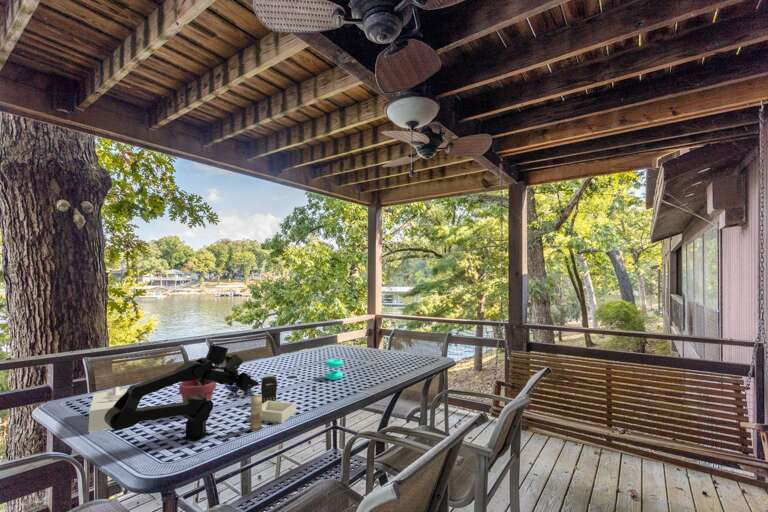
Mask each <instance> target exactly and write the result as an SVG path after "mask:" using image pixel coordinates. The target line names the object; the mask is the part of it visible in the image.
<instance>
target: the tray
mask: <svg viewBox="0 0 768 512" xmlns="http://www.w3.org/2000/svg"><path fill="white" fill-rule="evenodd" d="M296 413H297V403H296V402H288V401H277V400H276V401H266V402H264V403H262V422H267V421H270V423H275V422H278V423H277V424H282V423H284V422H285V421H287V420H288V419H290V418H291V417H292V416H294V415H295V414H296Z"/></svg>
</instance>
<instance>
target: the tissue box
mask: <svg viewBox="0 0 768 512" xmlns="http://www.w3.org/2000/svg"><path fill="white" fill-rule="evenodd" d="M127 390H128V388H124V389H121V388H120V386H115V387H113V388H112V390H111V391H110V390H108V391H104V392H97V393H96V392H95V393H93V395H92V396H93V397H92V400H91V403H90V407H89V412H88V432H89V431H98V430H104V429H111V427H110V426H109V425H108V424H107V423H105V420H104V417H105V414H106V413H107V411H108V410H109V409H110V408H112V407H113V406H114V405H115V403H116V402H117V401H118V400H119V399H120V398H121V397H122V396H123V395H124V394H125V392H126V391H127Z"/></svg>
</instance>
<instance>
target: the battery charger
mask: <svg viewBox="0 0 768 512" xmlns="http://www.w3.org/2000/svg"><path fill="white" fill-rule="evenodd" d="M260 382H261V383H260V386H261V387H260V393H261V394H260V395H261V396H262V404H263V403H264V402H266V401H277V388H278V380H277V377H276V375H268V376H264V377H262V379H261V381H260Z"/></svg>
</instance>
